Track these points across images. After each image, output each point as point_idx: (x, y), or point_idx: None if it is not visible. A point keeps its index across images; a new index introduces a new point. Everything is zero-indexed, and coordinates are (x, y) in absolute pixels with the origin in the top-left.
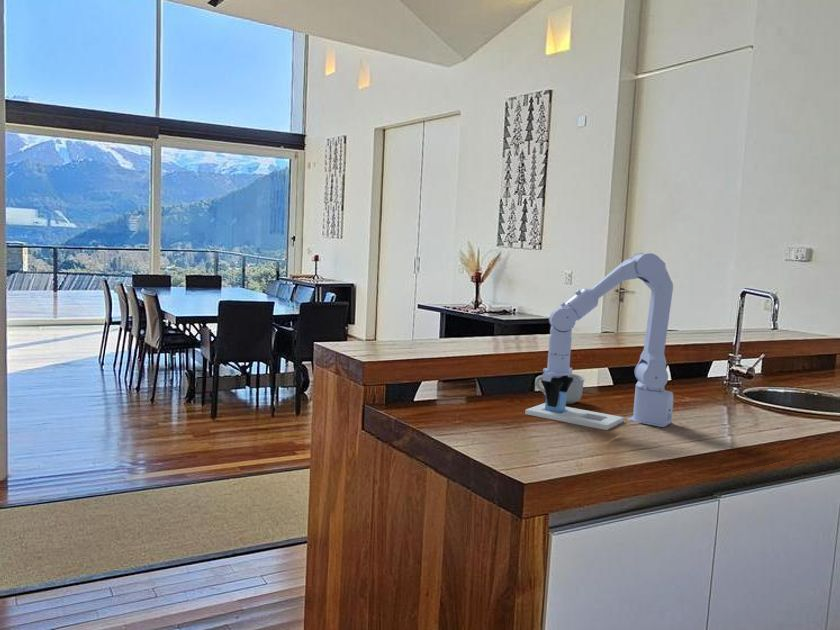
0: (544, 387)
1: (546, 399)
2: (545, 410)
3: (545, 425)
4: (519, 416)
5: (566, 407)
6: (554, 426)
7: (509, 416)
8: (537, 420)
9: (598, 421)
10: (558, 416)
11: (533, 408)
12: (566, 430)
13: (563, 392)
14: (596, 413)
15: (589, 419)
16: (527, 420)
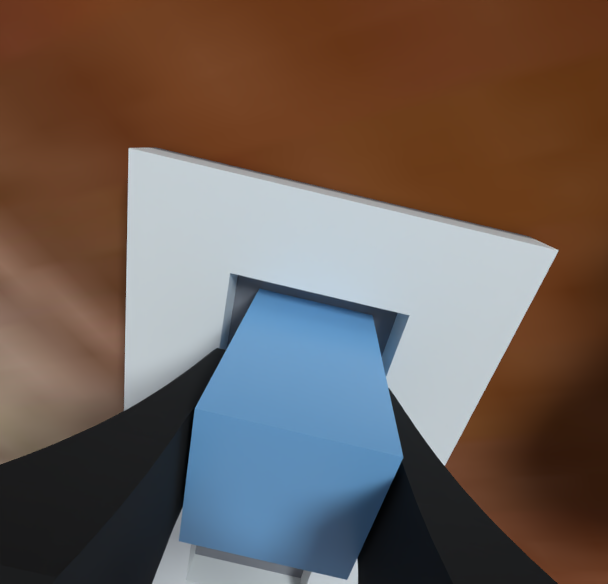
0: (44, 455)
1: (225, 357)
2: (252, 304)
3: (13, 334)
4: (100, 110)
5: (437, 425)
6: (37, 379)
7: (30, 21)
8: (91, 267)
9: (166, 574)
10: (124, 408)
11: (230, 205)
12: (13, 436)
13: (297, 558)
14: (355, 567)
15: (175, 544)
16: (33, 205)
